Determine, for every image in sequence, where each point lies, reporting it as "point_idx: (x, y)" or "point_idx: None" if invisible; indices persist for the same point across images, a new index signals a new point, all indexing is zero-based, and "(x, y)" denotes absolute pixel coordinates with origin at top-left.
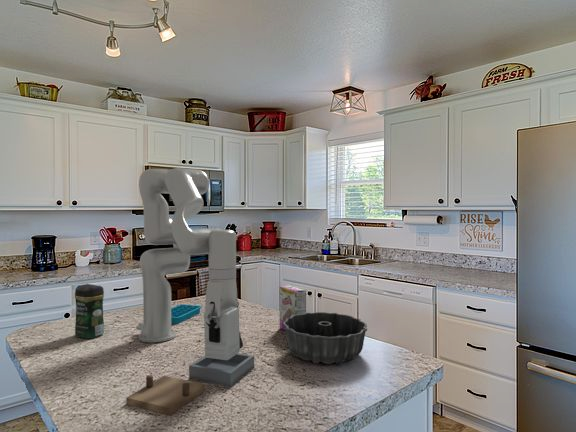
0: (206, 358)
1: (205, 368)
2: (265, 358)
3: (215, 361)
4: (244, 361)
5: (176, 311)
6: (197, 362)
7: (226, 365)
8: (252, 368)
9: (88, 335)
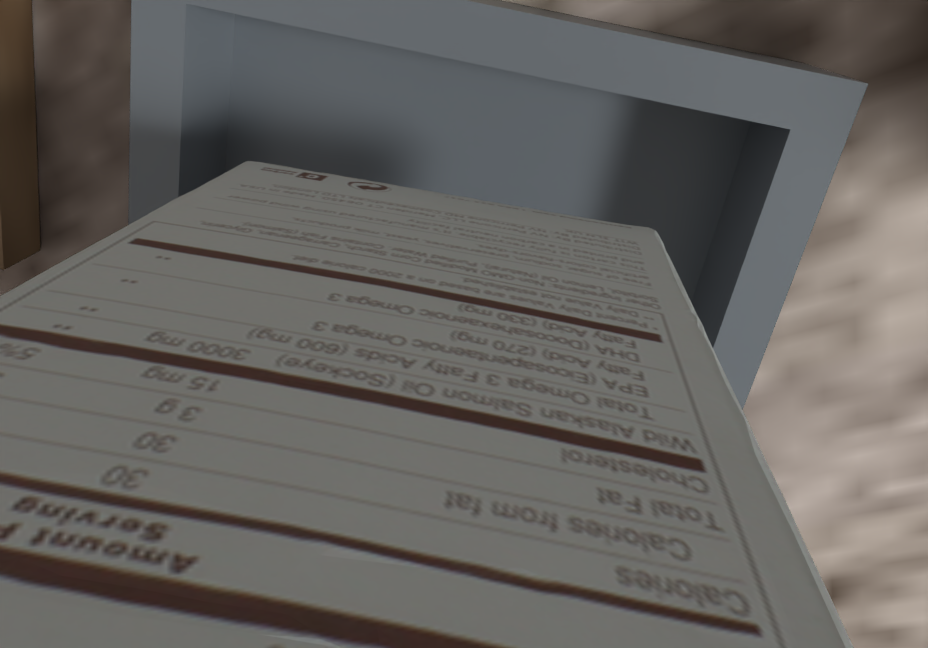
0: (495, 66)
1: (131, 217)
2: (912, 594)
3: (677, 117)
4: None
5: None
6: (271, 13)
7: None
8: None
9: None
